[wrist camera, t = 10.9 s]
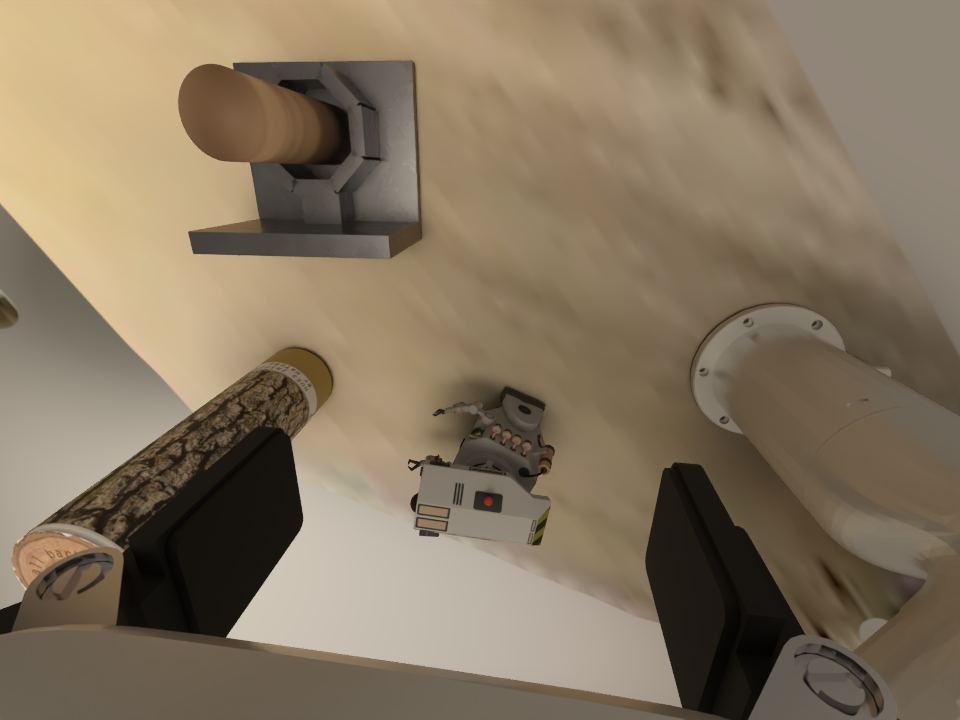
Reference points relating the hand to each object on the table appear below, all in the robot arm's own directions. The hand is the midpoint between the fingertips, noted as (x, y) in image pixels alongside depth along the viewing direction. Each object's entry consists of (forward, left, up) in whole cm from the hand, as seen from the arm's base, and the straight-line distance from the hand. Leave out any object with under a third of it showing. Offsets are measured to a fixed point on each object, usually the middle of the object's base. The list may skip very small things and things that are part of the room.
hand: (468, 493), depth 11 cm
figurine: (+2, +16, -31) cm, 35 cm away
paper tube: (+21, +12, -31) cm, 39 cm away
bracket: (+15, -8, -31) cm, 35 cm away
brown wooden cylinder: (+15, -10, -30) cm, 35 cm away
